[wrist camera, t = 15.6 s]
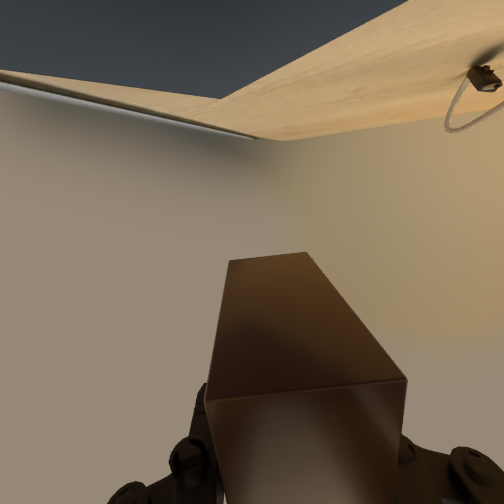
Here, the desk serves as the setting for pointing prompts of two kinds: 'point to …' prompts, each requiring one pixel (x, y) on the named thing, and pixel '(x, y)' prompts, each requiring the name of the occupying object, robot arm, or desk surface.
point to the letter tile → (300, 391)
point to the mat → (172, 39)
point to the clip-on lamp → (482, 82)
